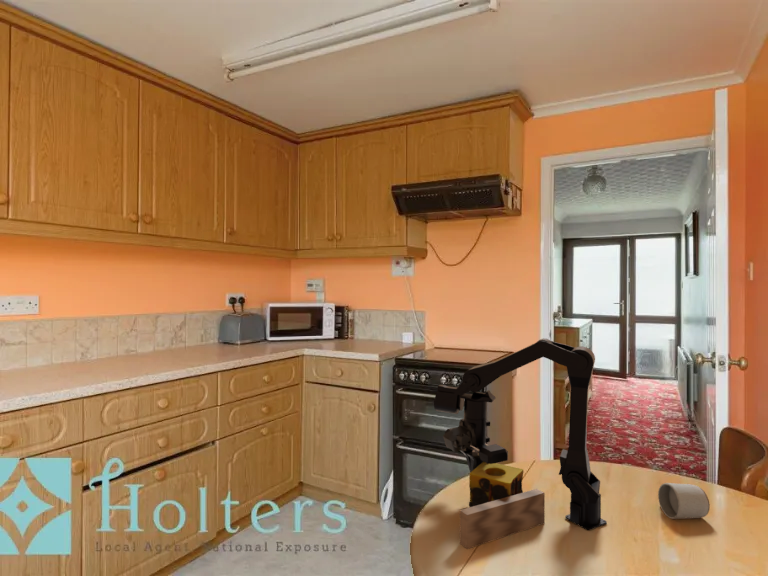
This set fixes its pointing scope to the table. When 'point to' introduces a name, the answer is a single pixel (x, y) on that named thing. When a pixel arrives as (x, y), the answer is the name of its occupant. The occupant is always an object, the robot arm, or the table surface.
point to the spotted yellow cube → (494, 483)
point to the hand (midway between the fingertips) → (473, 477)
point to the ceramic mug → (683, 501)
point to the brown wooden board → (501, 518)
